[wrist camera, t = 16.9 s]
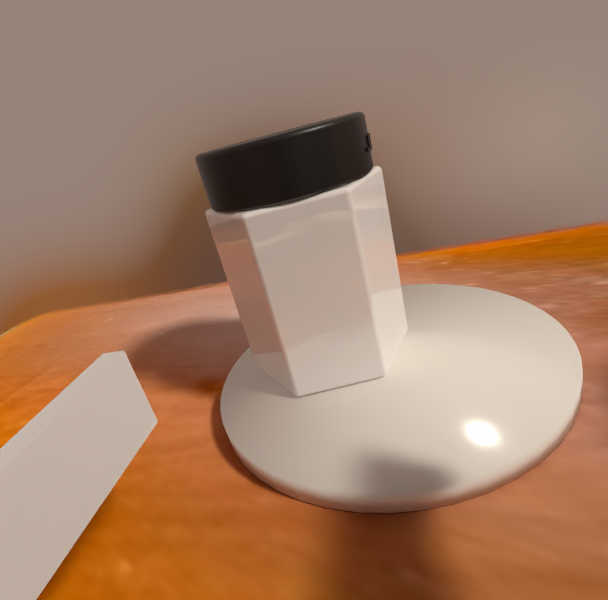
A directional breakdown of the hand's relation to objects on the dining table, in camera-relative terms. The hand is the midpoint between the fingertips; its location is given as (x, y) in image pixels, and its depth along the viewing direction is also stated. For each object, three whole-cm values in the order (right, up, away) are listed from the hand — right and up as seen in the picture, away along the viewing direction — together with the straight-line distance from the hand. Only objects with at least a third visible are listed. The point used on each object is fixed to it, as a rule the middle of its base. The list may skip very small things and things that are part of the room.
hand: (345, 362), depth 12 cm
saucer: (+3, -2, +12) cm, 12 cm away
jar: (+1, -1, +13) cm, 13 cm away
